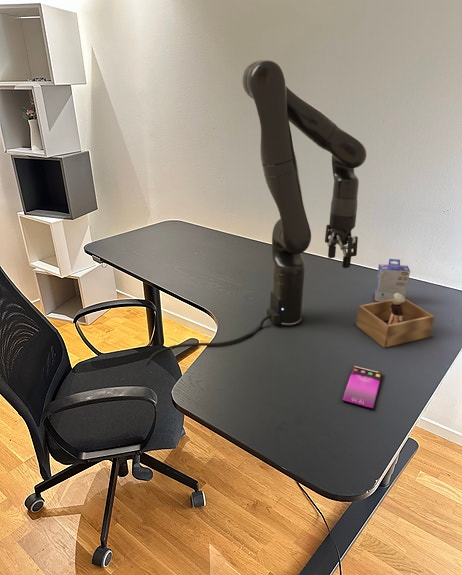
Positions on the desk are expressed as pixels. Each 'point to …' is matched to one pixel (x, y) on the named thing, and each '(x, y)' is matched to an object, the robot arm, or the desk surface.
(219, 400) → the desk surface
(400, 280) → the ink cartridge box
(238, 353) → the desk surface
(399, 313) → the grandmother figurine
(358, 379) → the smartphone
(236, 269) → the desk surface
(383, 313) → the birch box
